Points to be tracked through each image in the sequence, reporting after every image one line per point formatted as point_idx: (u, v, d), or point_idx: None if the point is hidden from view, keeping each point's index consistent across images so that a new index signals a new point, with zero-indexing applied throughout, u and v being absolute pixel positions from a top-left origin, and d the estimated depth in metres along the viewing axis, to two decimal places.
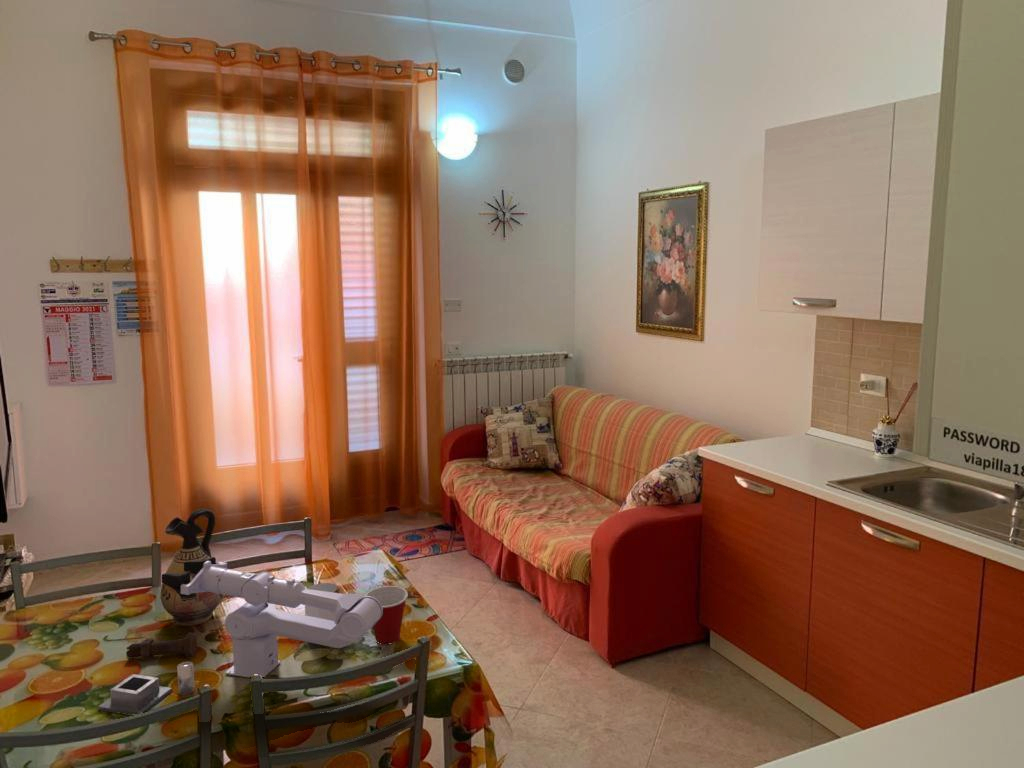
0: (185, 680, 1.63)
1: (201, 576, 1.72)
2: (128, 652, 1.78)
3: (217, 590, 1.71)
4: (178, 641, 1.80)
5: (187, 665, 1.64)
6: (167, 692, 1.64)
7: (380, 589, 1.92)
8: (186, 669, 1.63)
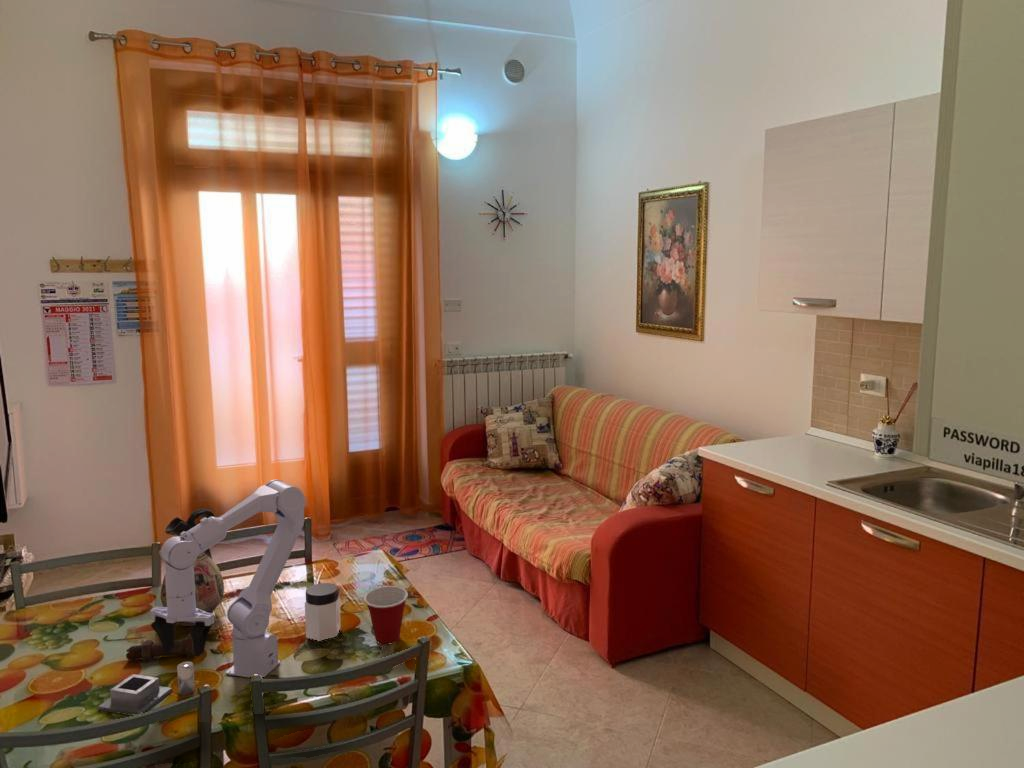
0: (185, 680, 1.63)
1: (187, 616, 1.61)
2: (128, 654, 1.77)
3: (194, 592, 1.63)
4: (179, 642, 1.80)
5: (187, 665, 1.64)
6: (167, 692, 1.64)
7: (380, 589, 1.92)
8: (186, 669, 1.63)
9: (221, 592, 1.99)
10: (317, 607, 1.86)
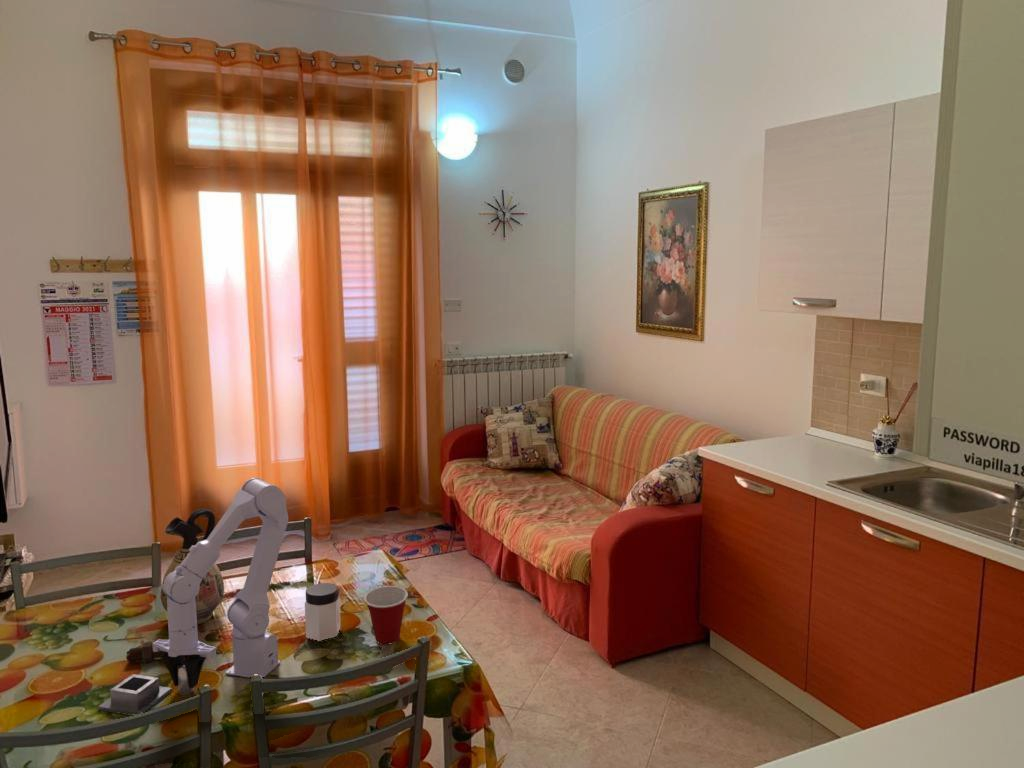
0: (184, 680, 1.63)
1: (189, 649, 1.62)
2: (128, 656, 1.76)
3: (196, 625, 1.64)
4: None
5: None
6: (167, 692, 1.64)
7: (380, 589, 1.92)
8: None
9: (221, 592, 1.99)
10: (317, 607, 1.86)
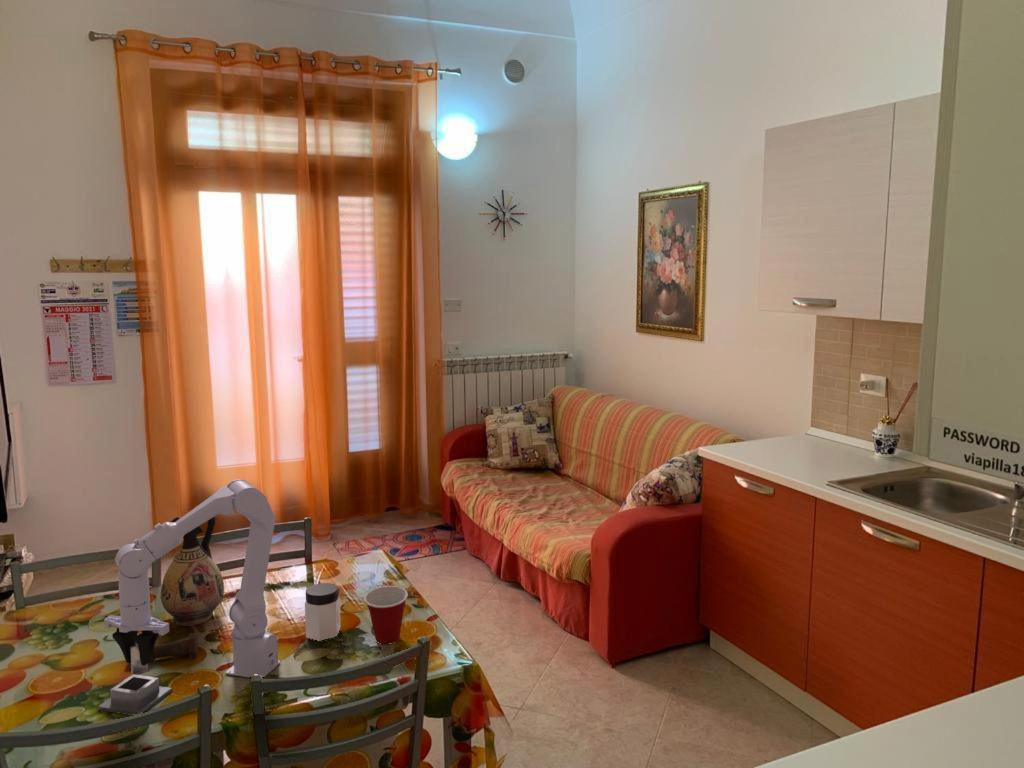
0: (135, 659, 1.59)
1: (141, 625, 1.57)
2: None
3: (149, 601, 1.59)
4: (181, 642, 1.79)
5: None
6: (167, 692, 1.64)
7: (380, 589, 1.92)
8: (137, 648, 1.59)
9: (221, 592, 1.99)
10: (317, 607, 1.86)
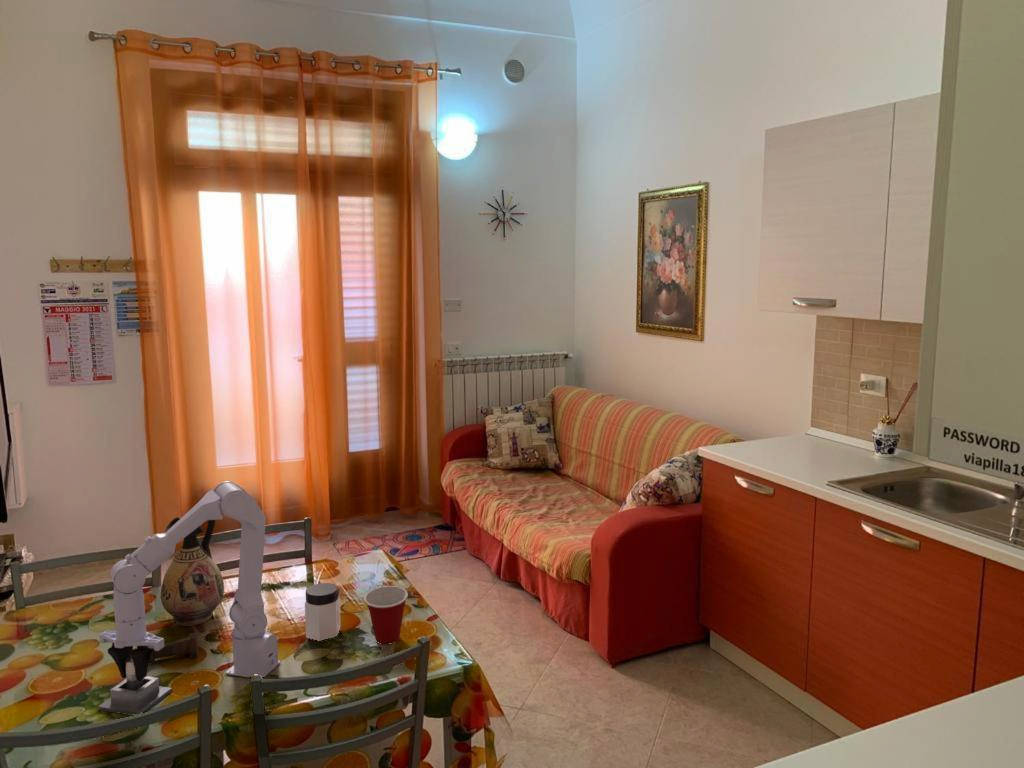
0: (131, 675, 1.59)
1: (136, 640, 1.57)
2: None
3: (144, 616, 1.59)
4: (181, 642, 1.79)
5: None
6: (167, 692, 1.64)
7: (380, 589, 1.92)
8: (132, 663, 1.59)
9: (221, 592, 1.99)
10: (317, 607, 1.86)
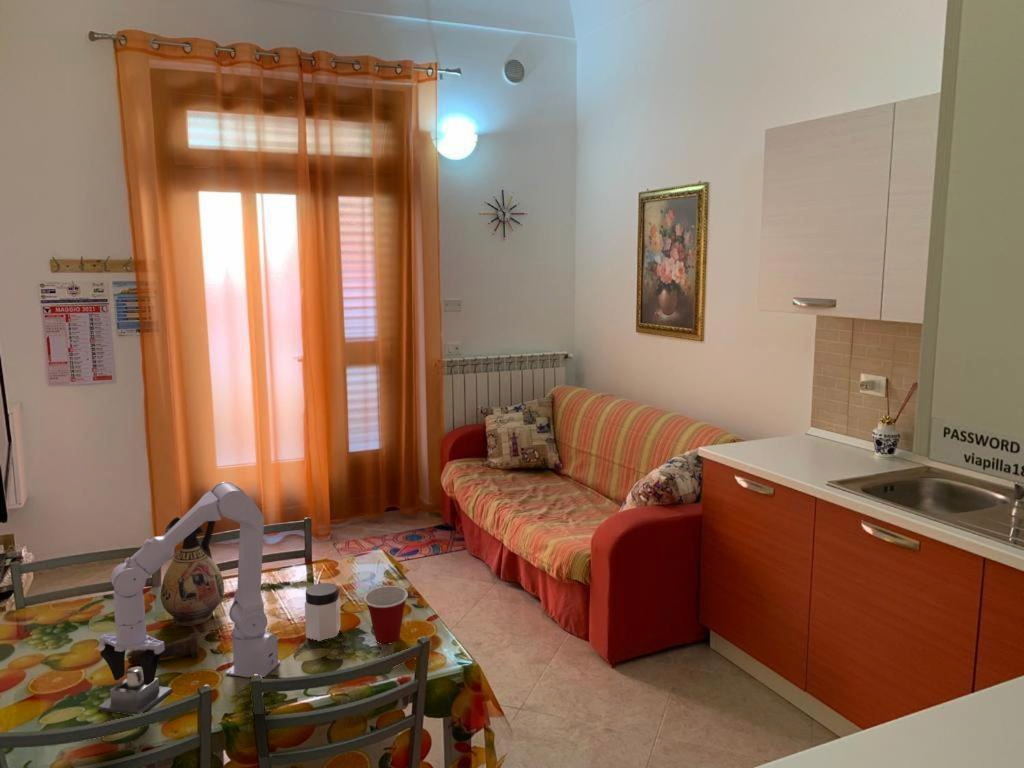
0: (132, 686, 1.59)
1: (136, 644, 1.57)
2: (130, 659, 1.75)
3: (144, 619, 1.59)
4: (182, 642, 1.79)
5: (136, 671, 1.60)
6: (167, 692, 1.64)
7: (380, 589, 1.92)
8: (133, 674, 1.59)
9: (221, 592, 1.99)
10: (317, 607, 1.86)
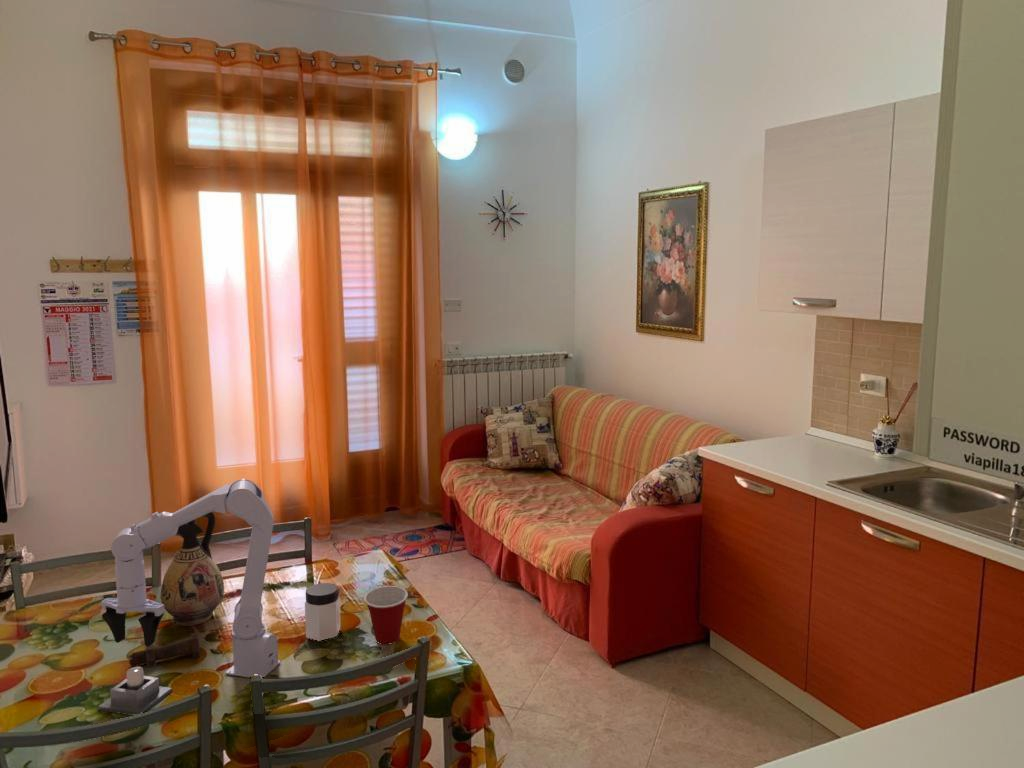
0: (132, 686, 1.59)
1: (137, 606, 1.63)
2: (132, 660, 1.74)
3: (145, 583, 1.65)
4: (183, 643, 1.79)
5: (136, 671, 1.60)
6: (167, 692, 1.64)
7: (380, 589, 1.92)
8: (133, 674, 1.59)
9: (221, 592, 1.99)
10: (317, 607, 1.86)
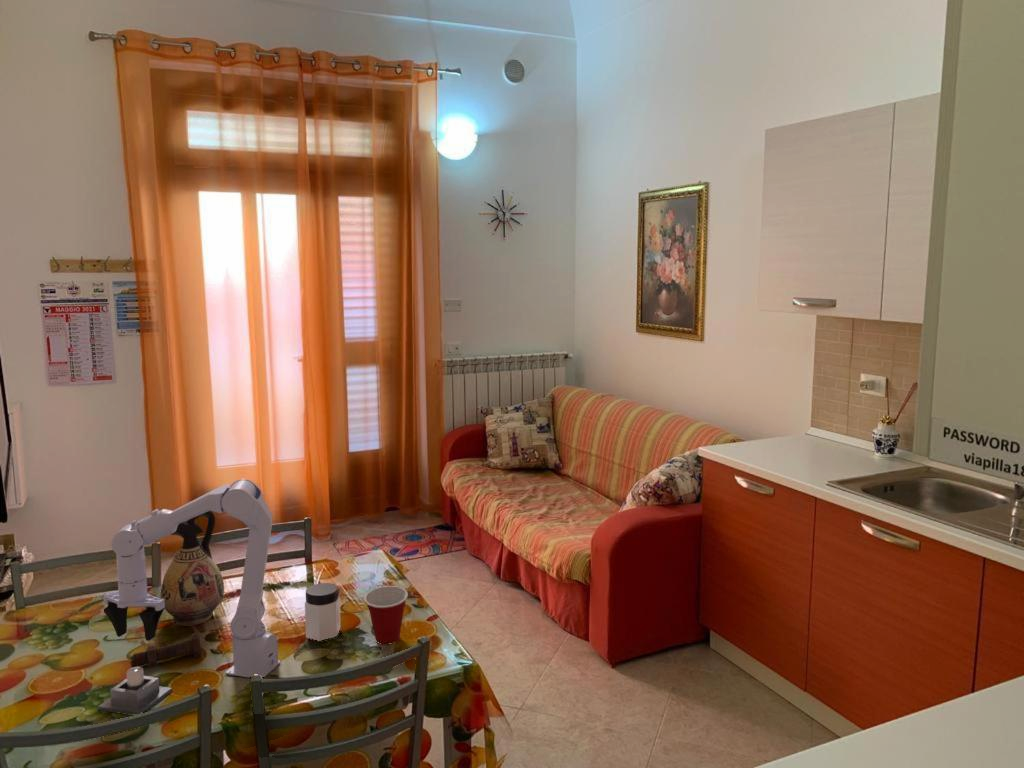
0: (132, 686, 1.59)
1: (138, 601, 1.66)
2: (133, 662, 1.73)
3: (145, 578, 1.68)
4: (184, 643, 1.79)
5: (136, 671, 1.60)
6: (167, 692, 1.64)
7: (380, 589, 1.92)
8: (133, 674, 1.59)
9: (221, 592, 1.99)
10: (317, 607, 1.86)
